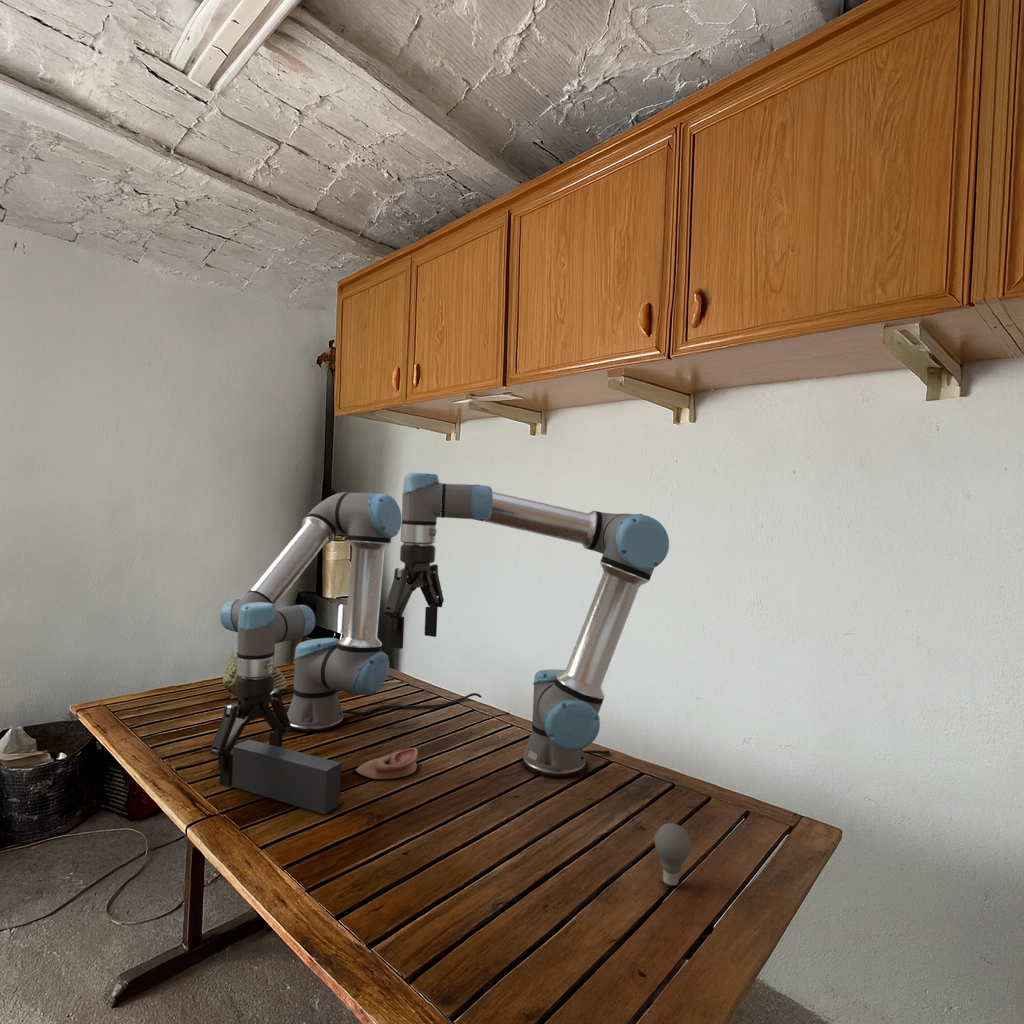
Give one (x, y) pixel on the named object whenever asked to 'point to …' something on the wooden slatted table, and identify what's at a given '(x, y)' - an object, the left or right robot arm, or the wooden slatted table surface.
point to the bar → (287, 776)
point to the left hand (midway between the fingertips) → (251, 772)
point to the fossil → (231, 676)
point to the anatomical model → (390, 765)
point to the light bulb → (672, 850)
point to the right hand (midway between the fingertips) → (414, 641)
